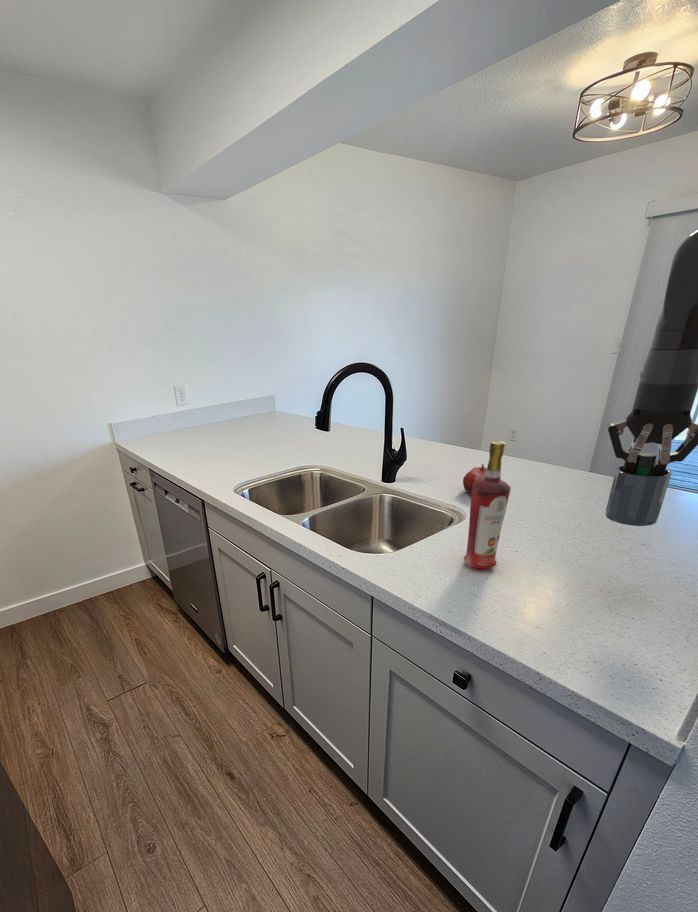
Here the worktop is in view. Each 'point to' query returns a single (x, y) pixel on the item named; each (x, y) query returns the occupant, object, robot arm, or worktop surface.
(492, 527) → the liquor
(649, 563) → the worktop surface
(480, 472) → the fruit
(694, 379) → the robot arm
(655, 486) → the grey cylindrical cup
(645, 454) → the green marker
